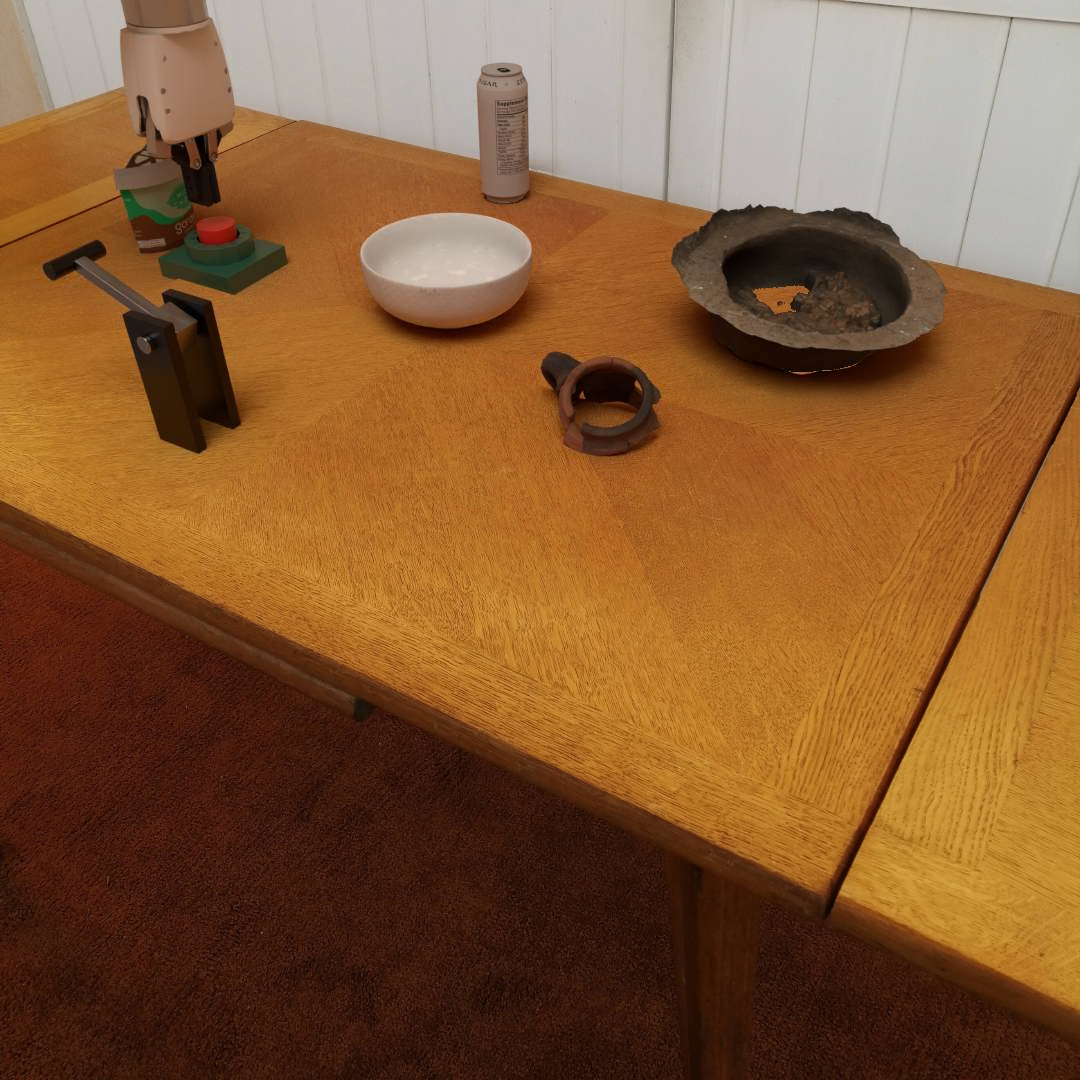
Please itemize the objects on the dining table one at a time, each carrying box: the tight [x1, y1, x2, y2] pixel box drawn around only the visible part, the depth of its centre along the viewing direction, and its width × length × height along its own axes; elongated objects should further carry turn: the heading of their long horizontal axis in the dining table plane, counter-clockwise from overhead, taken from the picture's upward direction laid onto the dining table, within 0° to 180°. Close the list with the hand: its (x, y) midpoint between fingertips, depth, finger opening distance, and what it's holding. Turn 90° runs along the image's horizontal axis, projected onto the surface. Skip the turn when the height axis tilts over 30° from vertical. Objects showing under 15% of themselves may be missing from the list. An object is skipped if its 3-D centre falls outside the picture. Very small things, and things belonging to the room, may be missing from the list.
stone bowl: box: [670, 203, 949, 372], centre depth 95 cm, size 25×25×9 cm
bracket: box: [121, 288, 242, 455], centre depth 80 cm, size 11×8×13 cm
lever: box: [42, 239, 197, 352], centre depth 78 cm, size 12×5×2 cm, turn 60°
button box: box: [157, 222, 289, 296], centre depth 109 cm, size 10×9×4 cm
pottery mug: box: [540, 350, 663, 457], centre depth 84 cm, size 12×10×8 cm
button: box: [196, 215, 238, 245], centre depth 107 cm, size 4×4×2 cm
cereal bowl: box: [359, 212, 533, 330], centre depth 100 cm, size 17×17×7 cm
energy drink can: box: [476, 62, 530, 204], centre depth 121 cm, size 6×6×15 cm
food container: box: [112, 142, 197, 255], centre depth 114 cm, size 12×6×10 cm, turn 179°
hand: (204, 201), depth 105 cm, fingers closed
